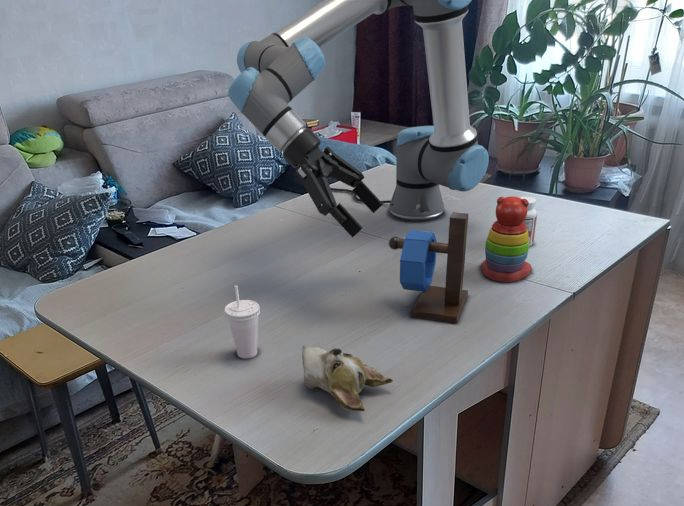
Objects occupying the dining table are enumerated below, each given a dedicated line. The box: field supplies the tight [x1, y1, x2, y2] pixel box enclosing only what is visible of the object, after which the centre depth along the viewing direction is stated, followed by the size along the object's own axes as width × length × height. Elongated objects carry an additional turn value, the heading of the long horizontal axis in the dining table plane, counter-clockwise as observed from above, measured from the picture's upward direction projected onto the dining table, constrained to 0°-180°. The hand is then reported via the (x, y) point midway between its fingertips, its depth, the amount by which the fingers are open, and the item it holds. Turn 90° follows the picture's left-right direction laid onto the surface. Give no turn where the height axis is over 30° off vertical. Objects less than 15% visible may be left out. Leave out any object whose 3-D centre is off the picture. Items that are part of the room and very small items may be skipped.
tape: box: [399, 229, 438, 293], centre depth 131 cm, size 5×11×11 cm, turn 160°
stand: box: [388, 211, 469, 324], centre depth 130 cm, size 16×12×20 cm
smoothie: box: [224, 285, 261, 359], centre depth 118 cm, size 6×6×14 cm
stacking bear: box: [481, 196, 532, 283], centre depth 142 cm, size 11×10×18 cm
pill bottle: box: [519, 196, 538, 247], centre depth 158 cm, size 6×6×11 cm
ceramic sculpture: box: [301, 344, 394, 412], centre depth 107 cm, size 11×9×15 cm
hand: (368, 220), depth 130 cm, fingers open, 13 cm apart
